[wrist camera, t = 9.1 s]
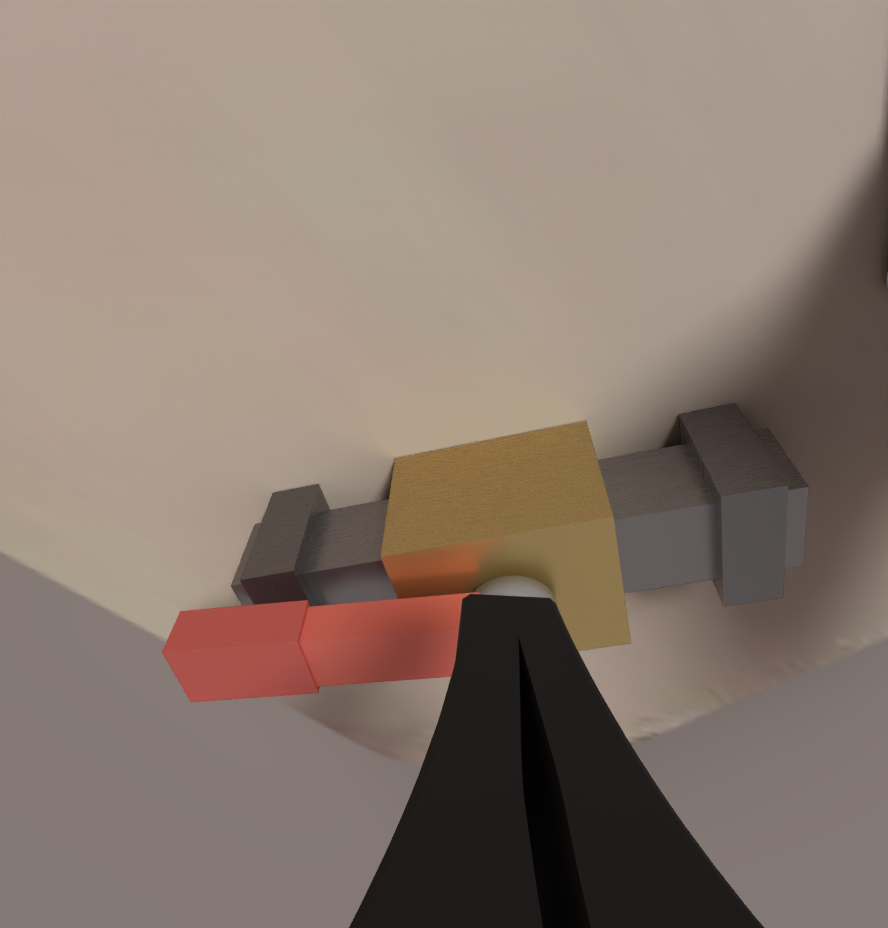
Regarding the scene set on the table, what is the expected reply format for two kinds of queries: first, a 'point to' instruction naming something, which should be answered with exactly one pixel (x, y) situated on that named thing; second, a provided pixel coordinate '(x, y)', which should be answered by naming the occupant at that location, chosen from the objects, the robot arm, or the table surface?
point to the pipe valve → (548, 525)
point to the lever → (321, 643)
